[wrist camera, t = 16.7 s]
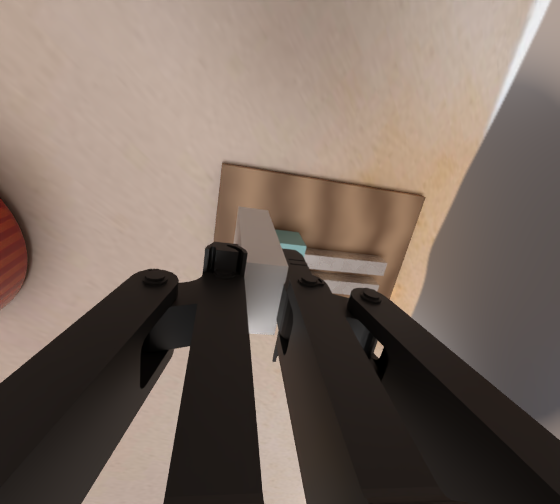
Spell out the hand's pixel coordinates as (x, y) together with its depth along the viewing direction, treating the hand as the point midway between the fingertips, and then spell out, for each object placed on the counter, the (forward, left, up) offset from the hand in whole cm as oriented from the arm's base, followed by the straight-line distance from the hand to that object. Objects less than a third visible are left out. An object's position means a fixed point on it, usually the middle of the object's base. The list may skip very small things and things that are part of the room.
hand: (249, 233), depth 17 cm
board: (+12, -10, -26) cm, 31 cm away
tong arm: (+12, -11, -25) cm, 30 cm away
